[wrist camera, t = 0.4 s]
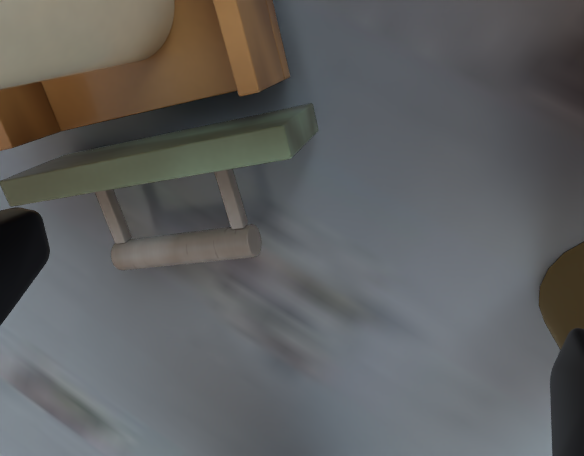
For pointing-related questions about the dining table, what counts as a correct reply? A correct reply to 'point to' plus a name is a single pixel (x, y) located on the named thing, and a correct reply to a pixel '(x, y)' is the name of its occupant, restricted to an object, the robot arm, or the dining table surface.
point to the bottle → (77, 36)
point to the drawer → (172, 146)
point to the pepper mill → (564, 294)
